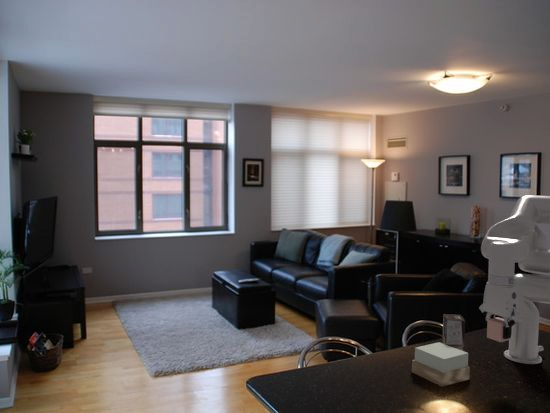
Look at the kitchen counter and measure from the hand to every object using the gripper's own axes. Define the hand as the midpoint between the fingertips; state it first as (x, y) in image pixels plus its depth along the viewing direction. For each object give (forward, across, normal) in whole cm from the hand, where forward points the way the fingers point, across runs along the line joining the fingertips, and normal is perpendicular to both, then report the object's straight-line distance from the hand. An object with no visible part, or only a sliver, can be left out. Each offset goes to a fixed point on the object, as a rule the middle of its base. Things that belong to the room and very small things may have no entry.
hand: (498, 335), depth 156 cm
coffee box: (+17, +21, -3) cm, 27 cm away
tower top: (+12, +13, +12) cm, 21 cm away
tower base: (+16, +13, +12) cm, 24 cm away
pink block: (+1, 0, 0) cm, 1 cm away
